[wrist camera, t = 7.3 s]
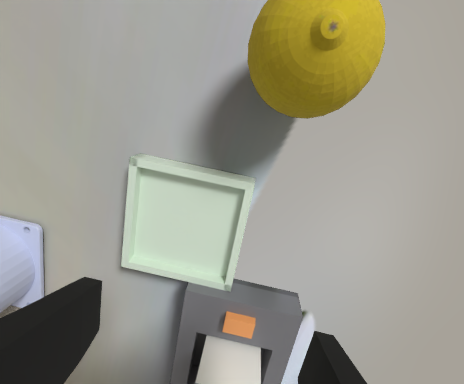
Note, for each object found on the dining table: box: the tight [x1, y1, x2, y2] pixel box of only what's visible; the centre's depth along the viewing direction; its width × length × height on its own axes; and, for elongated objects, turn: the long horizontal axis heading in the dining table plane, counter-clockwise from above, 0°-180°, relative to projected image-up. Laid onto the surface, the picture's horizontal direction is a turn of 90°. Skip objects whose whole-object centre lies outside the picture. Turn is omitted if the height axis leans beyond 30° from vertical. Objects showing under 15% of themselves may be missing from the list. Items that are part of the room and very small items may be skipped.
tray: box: [121, 154, 255, 292], centre depth 18 cm, size 8×8×2 cm
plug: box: [194, 335, 261, 384], centre depth 18 cm, size 4×4×6 cm
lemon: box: [248, 0, 385, 118], centre depth 12 cm, size 6×6×8 cm
